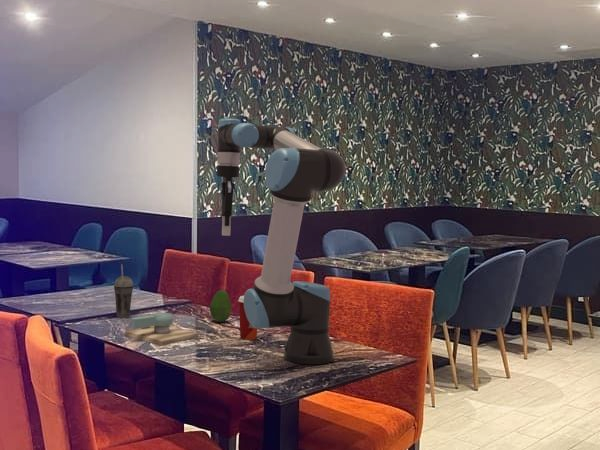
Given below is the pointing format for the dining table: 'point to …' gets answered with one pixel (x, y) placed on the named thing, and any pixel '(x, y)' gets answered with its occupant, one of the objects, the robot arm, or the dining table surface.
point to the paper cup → (245, 323)
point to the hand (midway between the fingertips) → (226, 235)
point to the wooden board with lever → (161, 334)
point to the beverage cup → (123, 295)
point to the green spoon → (152, 320)
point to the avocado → (220, 306)
